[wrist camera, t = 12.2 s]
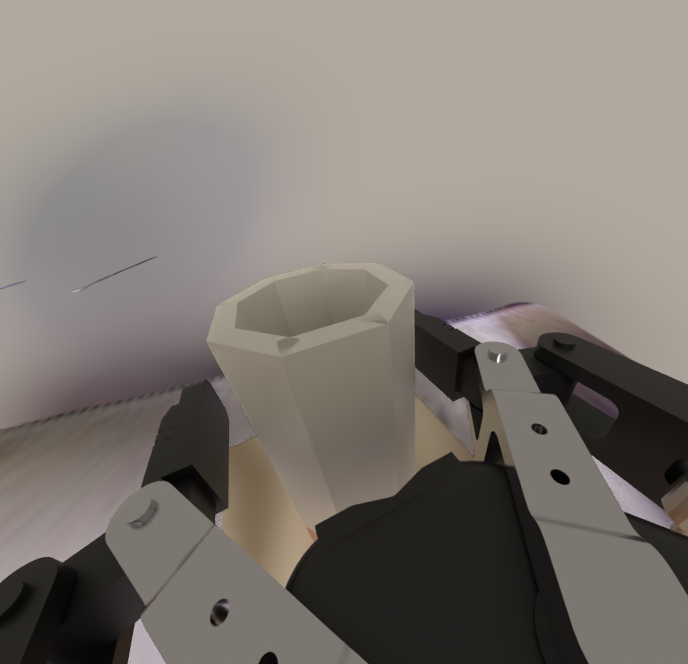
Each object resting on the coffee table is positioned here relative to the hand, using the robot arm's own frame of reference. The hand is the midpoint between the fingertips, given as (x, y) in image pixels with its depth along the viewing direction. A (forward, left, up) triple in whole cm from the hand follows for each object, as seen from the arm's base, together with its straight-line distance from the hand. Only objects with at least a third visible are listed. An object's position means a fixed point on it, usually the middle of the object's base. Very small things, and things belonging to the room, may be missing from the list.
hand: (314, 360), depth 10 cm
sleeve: (+2, -1, -8) cm, 9 cm away
